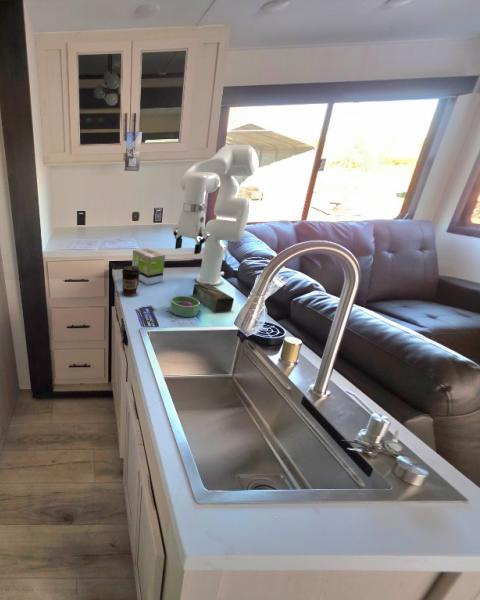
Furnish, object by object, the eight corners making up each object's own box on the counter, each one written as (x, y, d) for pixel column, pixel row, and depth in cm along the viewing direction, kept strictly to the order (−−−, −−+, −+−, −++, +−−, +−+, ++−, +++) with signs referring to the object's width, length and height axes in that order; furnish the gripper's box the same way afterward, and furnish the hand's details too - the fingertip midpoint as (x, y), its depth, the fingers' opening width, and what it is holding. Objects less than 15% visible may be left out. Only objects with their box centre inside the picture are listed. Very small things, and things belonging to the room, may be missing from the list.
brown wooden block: (207, 294, 147) (209, 281, 145) (232, 312, 130) (235, 297, 128) (191, 295, 146) (193, 282, 143) (215, 313, 129) (217, 299, 126)
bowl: (182, 304, 138) (183, 293, 135) (203, 313, 129) (205, 302, 127) (163, 310, 132) (165, 299, 130) (185, 320, 123) (186, 309, 121)
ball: (184, 304, 132) (189, 298, 129) (190, 312, 130) (196, 306, 127) (176, 307, 130) (182, 300, 127) (183, 315, 128) (188, 309, 125)
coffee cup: (138, 298, 144) (140, 271, 138) (120, 296, 145) (121, 270, 140) (138, 291, 152) (141, 265, 146) (121, 289, 153) (123, 264, 148)
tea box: (130, 276, 171) (132, 249, 165) (145, 273, 175) (148, 247, 169) (147, 285, 159) (149, 256, 153) (163, 282, 163) (166, 254, 157)
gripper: (218, 209, 117) (211, 254, 124) (181, 204, 130) (177, 245, 137) (205, 211, 113) (199, 257, 120) (169, 206, 126) (165, 247, 134)
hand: (187, 250), depth 129 cm, fingers open, 9 cm apart
